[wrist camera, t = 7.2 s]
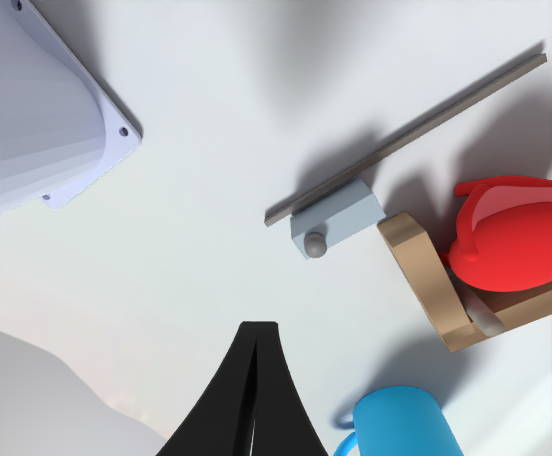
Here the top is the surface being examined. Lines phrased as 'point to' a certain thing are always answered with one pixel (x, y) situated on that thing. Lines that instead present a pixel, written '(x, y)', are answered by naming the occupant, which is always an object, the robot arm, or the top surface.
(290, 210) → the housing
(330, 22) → the top surface
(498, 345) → the top surface
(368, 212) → the pale blue-grey box
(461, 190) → the cap
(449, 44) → the top surface
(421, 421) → the mug
